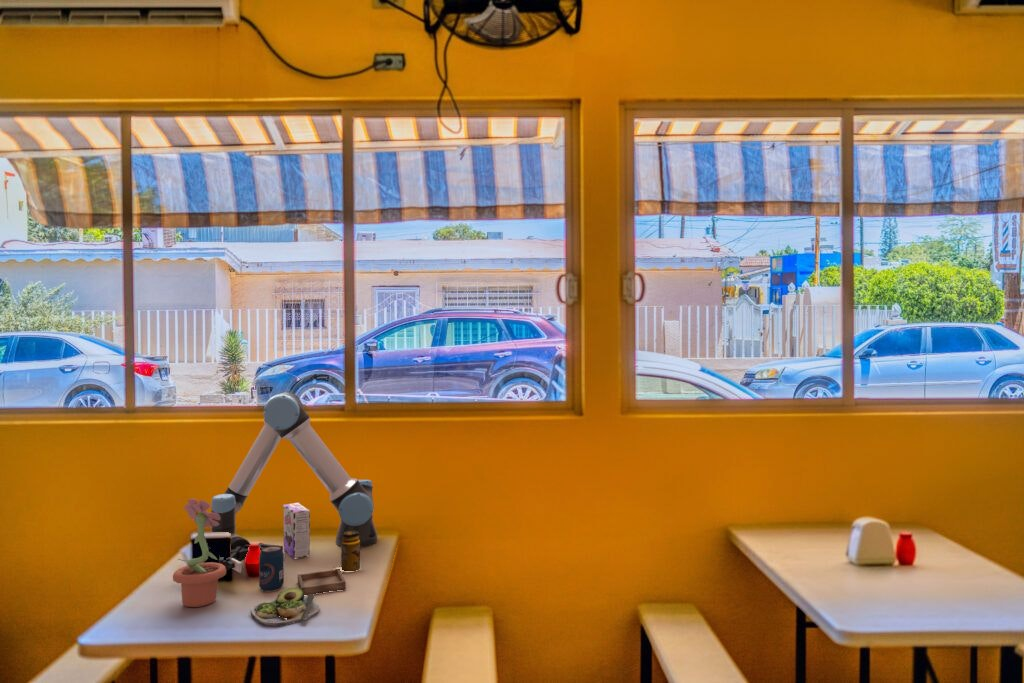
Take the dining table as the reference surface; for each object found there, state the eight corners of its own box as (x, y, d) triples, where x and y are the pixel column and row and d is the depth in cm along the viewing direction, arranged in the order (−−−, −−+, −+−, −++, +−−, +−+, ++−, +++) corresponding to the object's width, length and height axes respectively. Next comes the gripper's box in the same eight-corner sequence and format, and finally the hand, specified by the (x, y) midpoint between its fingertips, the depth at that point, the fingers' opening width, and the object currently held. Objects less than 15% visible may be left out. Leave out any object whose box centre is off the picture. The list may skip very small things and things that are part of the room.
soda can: (254, 591, 196) (254, 551, 196) (268, 583, 203) (268, 544, 203) (274, 593, 194) (274, 552, 194) (288, 585, 201) (288, 545, 201)
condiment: (364, 570, 215) (364, 533, 215) (339, 575, 210) (338, 537, 210) (356, 564, 221) (356, 528, 221) (331, 568, 216) (331, 532, 216)
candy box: (282, 549, 237) (282, 504, 237) (299, 547, 240) (299, 501, 240) (293, 559, 225) (293, 511, 226) (310, 556, 229) (310, 509, 229)
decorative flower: (240, 597, 191) (239, 494, 192) (203, 615, 178) (202, 504, 179) (200, 591, 196) (199, 490, 197) (161, 608, 183) (161, 501, 184)
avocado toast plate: (334, 618, 177) (334, 601, 177) (266, 636, 166) (266, 618, 166) (309, 597, 192) (309, 581, 192) (245, 612, 181) (245, 595, 181)
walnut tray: (339, 576, 208) (339, 568, 208) (345, 590, 197) (345, 581, 197) (297, 582, 203) (297, 574, 203) (301, 596, 192) (301, 587, 192)
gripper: (271, 550, 225) (300, 565, 210) (195, 568, 208) (221, 585, 192) (271, 528, 225) (300, 541, 210) (195, 544, 208) (220, 559, 193)
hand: (262, 562), depth 201 cm, fingers open, 13 cm apart
